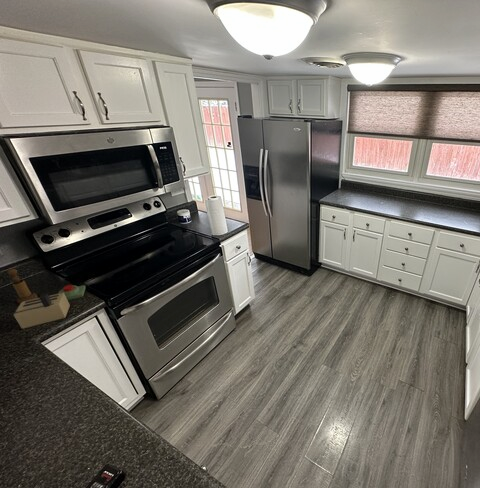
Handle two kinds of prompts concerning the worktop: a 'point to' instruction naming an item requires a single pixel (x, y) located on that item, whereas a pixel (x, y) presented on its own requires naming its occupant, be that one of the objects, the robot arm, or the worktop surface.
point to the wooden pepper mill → (21, 287)
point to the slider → (45, 300)
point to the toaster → (41, 311)
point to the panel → (74, 292)
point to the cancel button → (68, 288)
